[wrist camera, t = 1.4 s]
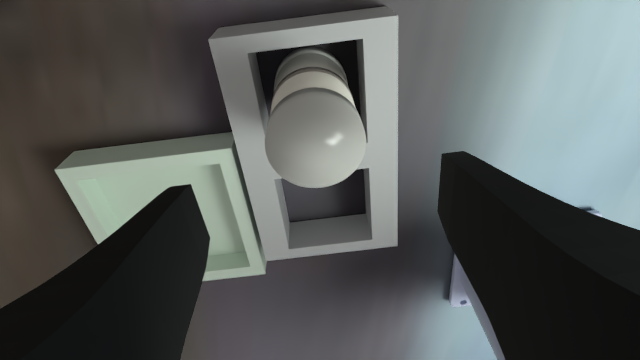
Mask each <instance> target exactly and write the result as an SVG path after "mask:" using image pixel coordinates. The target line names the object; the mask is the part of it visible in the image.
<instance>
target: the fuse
mask: <svg viewBox="0 0 640 360" xmlns="http://www.w3.org/2000/svg"><path fill="white" fill-rule="evenodd" d="M365 150H366V134H365V130H364V127H363V124H362V121H361V118H360V116H359V113H358V111H357V110H356V107H355V104H354V100H353V97H352V94H351V91H350V89H349V86H348V81H347V78H346V74H345V71H344V69H343V67H342V65H341V63H340V62H339V60H338V59H337V58H336V57H335V56H334V55H333V54H331V53H330V52H328V51H326V50H324V49H321V48H317V47H304V48H300V49H297V50H295V51H293V52H291V53H290V54H288V55H287V56H286V57H285V58H284V59H283V60H282V62H281V63H280V65H279V67H278V69H277V72H276V76H275V82H274V94H273V98H272V104H271V113H270V117H269V120H268V123H267V129H266V135H265V152H266V155H267V158H268V161H269V163H270V164H271V166H272V168H273V169H274V170H275V171H276V172H277V173H278V174H279V175H280V176H281V177H282V178H284V179H285V180H287V181H289V182H290V183H293V184H295V185H298V186H302V187H307V188H322V187H328V186H331V185H334V184H337V183H339V182H341V181H343V180H344V179H346V178H347V177H349V176H350V175H351V174H352V173H353V172H354V171H355V170H356V169H357V168H358V166H359V165H360V163H361V161H362V159H363V157H364V154H365Z"/></svg>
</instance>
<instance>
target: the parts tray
mask: <svg viewBox="0 0 640 360" xmlns="http://www.w3.org/2000/svg"><path fill="white" fill-rule="evenodd" d="M55 172H56V174H57V175H58V177H59V179H60V180H61V182H62V184H63V185H64V187H65V189H66V191H67V192H68V194H69V196H70V197H71V199H72V201H73V203H74V204H75V206H76V208H77V209H78V211H79V213H80V215H81V216H82V218H83V220H84V221H85V223H86V225H87V227H88V228H89V230H90V232H91V233H92V235H93V237H94V239H95V240H96V242H97V244H100V243H101V242H102V241H103V240H105V239H106V238H107V237H109V236H110V235H111V234H112V233H114V232H115V231H116V230H117V229H119V228H120V227H121V226H122V225H123V224H125V223H126V222H127V221H128V220H129V219H131V218H132V217H133V216H134V215H135V214H137V213H138V212H139V211H140V210H141V209H142V208H144V207H145V206H146V205H147V204H148V203H150V202H151V201H152V200H153V199H154V198H156V197H157V196H158V195H159V194H161V193H162V192H163V191H164V190H166V189H167V188H169V187H171V186H179V185H187V184H191V186H192V189H193V191H194V194H195V197H196V200H197V202H198V205H199V208H200V211H201V214H202V216H203V219H204V222H205V225H206V227H207V230H208V233H209V236H210V244H209V251H208V258H207V265H206V270H205V273H204V277H203V280H202V281H209V280H218V279H227V278H235V277H244V276H253V275H262V274H265V273H266V263H267V261H266V258H265V254H264V250H263V247H262V243H261V239H260V235H259V231H258V228H257V224H256V220H255V216H254V212H253V209H252V205H251V201H250V197H249V193H248V190H247V186H246V182H245V178H244V174H243V171H242V167H241V163H240V159H239V155H238V152H237V148H236V144H235V140H234V136H233V133H232V132H226V133H218V134H210V135H202V136H194V137H186V138H177V139H169V140H161V141H153V142H145V143H137V144H129V145H120V146H112V147H104V148H96V149H88V150H80V151H74V152H73V153H71V154H70V155H69V156H68V157H67V158H66V159H65V160H64V161H63V162H62V163H61V164H60V165H59V166H58V167H57V168H56V169H55Z"/></svg>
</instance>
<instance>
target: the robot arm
mask: <svg viewBox="0 0 640 360" xmlns="http://www.w3.org/2000/svg"><path fill="white" fill-rule="evenodd" d="M438 214H439V217H440V220H441V223H442V226H443V228H444V231H445V234H446V236H447V239H448V241H449V243H450V245H451V247H452V249H453V251H454V260H453V269H452V278H451V286H450V295H449V302H450V305H451V306H453V307H460V306H469V305H472V307H473V309H474V311H475V313H476V315H477V317H478V319H479V321H480V324H481V326H482V328H483V330H484V332H485V334H486V336H487V338H488V341H489V343H490V345H491V347H492V349H493V351H494V353H495V355H496V357H497V360H640V230H637V229H634V228H631V227H628V226H625V225H622V224H619V223H616V222H613V221H610V220H608V219H605V218H603V217H602V214H601V213H600V212H599V211H597V210H591V211H584V210H582V209H579V208H577V207H574V206H572V205H570V204H567V203H565V202H563V201H561V200H558V199H556V198H554V197H552V196H550V195H548V194H545V193H543V192H541V191H539V190H537V189H535V188H533V187H531V186H529V185H527V184H525V183H523V182H521V181H519V180H517V179H516V178H514V177H512V176H510V175H508V174H506V173H504V172H503V171H501V170H499V169H497V168H495V167H493V166H492V165H490V164H488V163H486V162H484V161H482V160H481V159H479V158H477V157H475V156H473V155H471V154H469V153H467V152H464V151H461V152H452V153H444V154H442V158H441V172H440V185H439V198H438ZM209 244H210V236H209V233H208V230H207V227H206V225H205V222H204V219H203V216H202V214H201V211H200V208H199V205H198V202H197V200H196V197H195V194H194V191H193V189H192V186H191V184H187V185H179V186H171V187H169V188H167V189H166V190H164V191H163V192H162V193H161V194H159V195H158V196H157V197H156V198H154V199H153V200H152V201H151V202H150V203H148V204H147V205H146V206H145V207H144V208H142V209H141V210H140V211H139V212H138V213H137V214H135V215H134V216H133V217H132V218H131V219H129V220H128V221H127V222H126V223H125V224H123V225H122V226H121V227H120V228H119V229H117V230H116V231H115V232H114V233H112V234H111V235H110V236H109V237H107V238H106V239H105V240H103V241H102V242H101V243H100V244H98V245H97V246H96V247H94V248H93V249H92V250H91V251H89V252H88V253H87V254H85V255H84V256H83V257H81V258H80V259H79V260H77V261H76V262H74V263H73V264H72V265H70V266H69V267H67V268H66V269H64V270H63V271H61V272H60V273H58V274H57V275H55V276H54V277H52V278H51V279H49V280H48V281H46V282H45V283H43V284H42V285H40V286H38V287H37V288H35V289H33V290H32V291H30V292H28V293H27V294H25V295H23V296H21V297H20V298H18V299H16V300H15V301H13V302H11V303H9V304H8V305H6V306H4V307H3V308H1V309H0V360H180V359H181V354H182V350H183V346H184V342H185V338H186V334H187V331H188V328H189V324H190V321H191V318H192V314H193V311H194V308H195V304H196V301H197V298H198V294H199V291H200V287H201V284H202V280H203V277H204V273H205V270H206V265H207V258H208V251H209Z"/></svg>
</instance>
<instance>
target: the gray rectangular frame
mask: <svg viewBox="0 0 640 360" xmlns="http://www.w3.org/2000/svg"><path fill="white" fill-rule="evenodd" d="M348 40H356V43H357V61H358V79H359V96H360V114H361V121H362V124H363V127H364V130H365V134H366V150H365V154H364V157H363V159H362V161H361V163H360V165H359V166H358V168H357V169H364V186H365V204H366V214H358V215H350V216H341V217H333V218H324V219H316V220H307V221H299V222H289V217H288V212H287V207H286V202H285V197H284V192H283V187H282V182H281V178H282V177H281V176H280V175H279V174H278V173H277V172H276V171H275V170H274V169H273V168H272V166H271V164H270V163H269V161H268V158H267V155H266V152H265V135H266V129H267V123H268V120H269V117H268V112H267V107H266V102H265V97H264V92H263V87H262V82H261V77H260V72H259V67H258V62H257V57H256V52H262V51H270V50H277V49H285V48H293V47H301V46H309V45H317V44H325V43H333V42H340V41H348ZM208 41H209V45H210V49H211V53H212V57H213V60H214V64H215V68H216V72H217V76H218V79H219V83H220V87H221V91H222V95H223V98H224V102H225V106H226V110H227V114H228V117H229V121H230V125H231V129H232V133H233V136H234V140H235V144H236V148H237V152H238V155H239V159H240V163H241V167H242V171H243V174H244V178H245V182H246V186H247V190H248V193H249V197H250V201H251V205H252V209H253V212H254V216H255V220H256V224H257V228H258V231H259V235H260V239H261V243H262V247H263V250H264V254H265V258H266V261H272V260H281V259H289V258H298V257H307V256H315V255H324V254H333V253H341V252H350V251H359V250H367V249H376V248H385V247H393V246H398V15H397V14H396V13H394V12H393V11H392V10H391V9H389V8H388V7H387V6H383V7H376V8H368V9H360V10H352V11H345V12H337V13H329V14H321V15H313V16H306V17H298V18H290V19H282V20H274V21H267V22H259V23H251V24H243V25H236V26H228V27H220V28H218V29H217V30H216V31H215V32H214V33H213V35H212V36H211V37H210V38H209V39H208ZM357 169H356V170H357Z"/></svg>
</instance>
